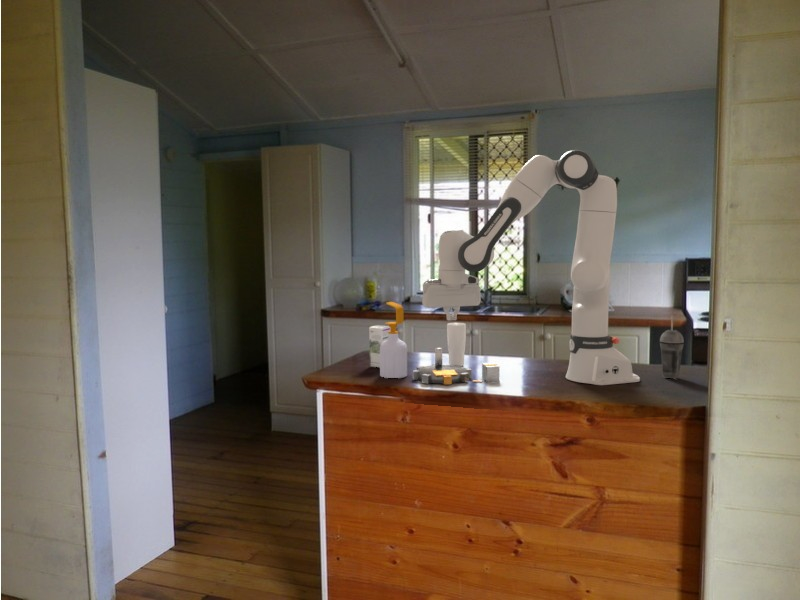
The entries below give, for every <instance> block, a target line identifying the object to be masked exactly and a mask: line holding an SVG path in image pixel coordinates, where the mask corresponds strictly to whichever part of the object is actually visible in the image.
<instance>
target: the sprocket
mask: <svg viewBox="0 0 800 600" xmlns="http://www.w3.org/2000/svg"><path fill="white" fill-rule="evenodd" d="M470 378H472V368H470V367H469V368H465V367H463V366H460V365H453V366H452V365H449V364H443V347H435V348H434V364H433V365H426V366H423V365H420V366H417V367H416V369H414V370H412V379H413V380H415V381H416V380H419V381H421V383H423V384H426V385H427V384H443V385H452V384H455V383H466V382H469V381H470Z"/></svg>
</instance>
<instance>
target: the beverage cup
mask: <svg viewBox="0 0 800 600" xmlns="http://www.w3.org/2000/svg"><path fill="white" fill-rule="evenodd" d="M670 321H671V322H670V329H667V330H665V331H664V332H663V333H661V335H660V337H659V345H660V353H661V355H660V356H661V368H662V369H661V371H662V372H661V373H662V378H663V377H665V378H678V379H679V375H680V371H681V362H682V361H681V360H682V354H683V349H684V344H685V341H684V339H685V338H684V336H683V334H682V333H681V332H680V331H678V330H677V329H674V315H672V314H671V318H670ZM665 378H664V379H665Z"/></svg>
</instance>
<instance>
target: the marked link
mask: <svg viewBox="0 0 800 600" xmlns="http://www.w3.org/2000/svg"><path fill="white" fill-rule="evenodd" d="M481 366H482V367H481V368H482V369H481V372H482V373H481V378H482V379H483V381H485V382H486V383H499V382H500V366H499V365H498V364H497V363H495V362H482V364H481Z"/></svg>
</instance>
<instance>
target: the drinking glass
mask: <svg viewBox="0 0 800 600" xmlns="http://www.w3.org/2000/svg"><path fill="white" fill-rule="evenodd" d="M446 337H447V338H446V340H447V350H448V365H452V366H453V365H460V366H461V367H463V366H464V365H465V351H466V350H465V349H466V340H467V339H466V338H467V323H464V322H448V323H447V324H446Z"/></svg>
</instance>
